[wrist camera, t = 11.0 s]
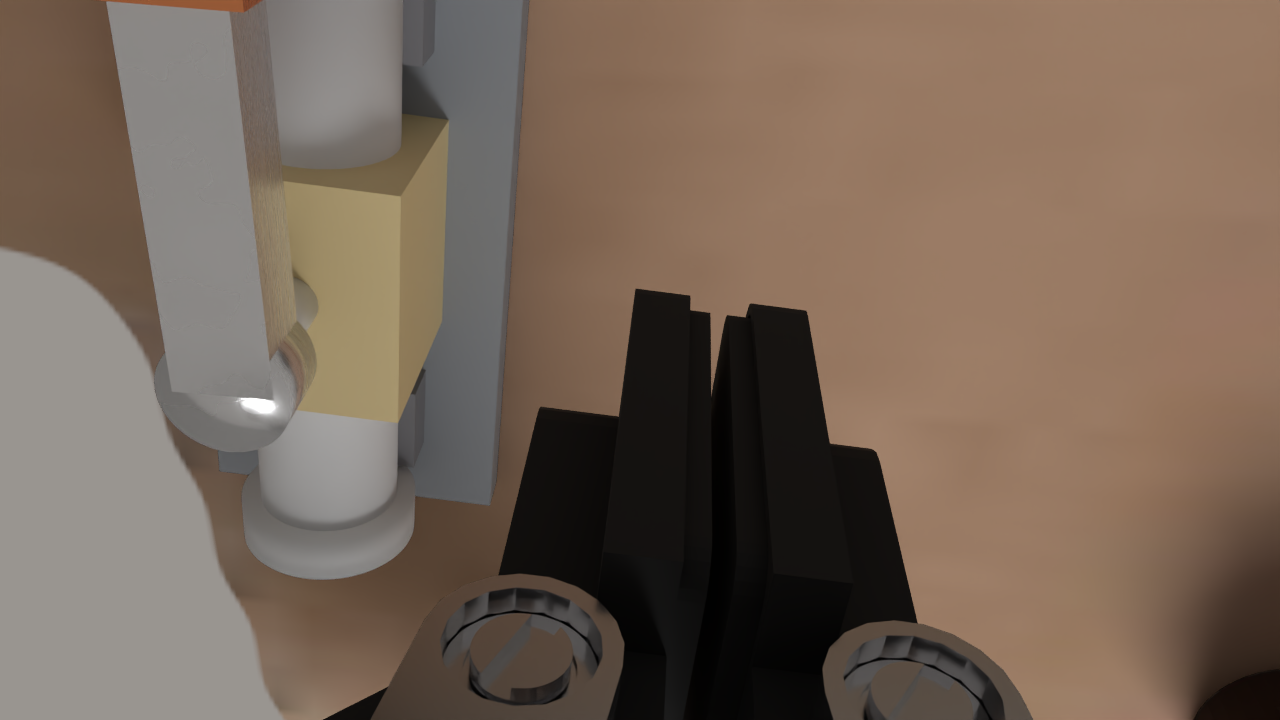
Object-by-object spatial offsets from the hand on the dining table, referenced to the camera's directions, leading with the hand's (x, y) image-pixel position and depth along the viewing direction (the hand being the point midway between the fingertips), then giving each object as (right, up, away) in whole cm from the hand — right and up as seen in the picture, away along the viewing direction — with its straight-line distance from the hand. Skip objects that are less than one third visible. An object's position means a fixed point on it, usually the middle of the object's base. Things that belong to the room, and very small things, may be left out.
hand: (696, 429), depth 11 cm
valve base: (-10, +6, +26) cm, 28 cm away
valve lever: (-10, +7, +13) cm, 18 cm away
